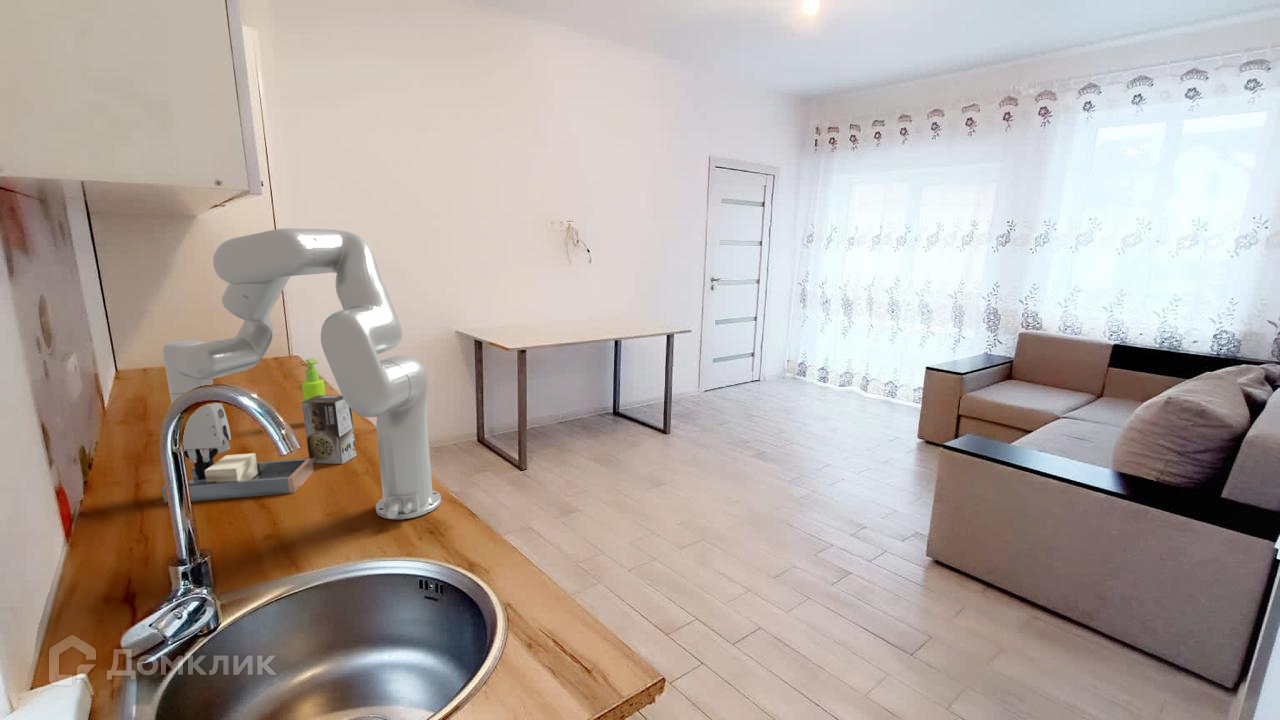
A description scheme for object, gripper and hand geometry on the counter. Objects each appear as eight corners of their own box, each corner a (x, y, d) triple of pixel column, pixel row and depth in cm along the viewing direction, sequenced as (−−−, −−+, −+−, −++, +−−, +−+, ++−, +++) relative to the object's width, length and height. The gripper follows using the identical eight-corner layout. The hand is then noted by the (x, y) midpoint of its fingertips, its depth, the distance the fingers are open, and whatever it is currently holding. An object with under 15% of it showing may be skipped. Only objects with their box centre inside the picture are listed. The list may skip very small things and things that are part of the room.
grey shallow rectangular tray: (294, 493, 124) (292, 476, 124) (164, 503, 120) (161, 486, 119) (313, 472, 136) (311, 456, 135) (196, 480, 131) (193, 464, 130)
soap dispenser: (310, 428, 168) (302, 362, 164) (304, 423, 173) (296, 359, 169) (332, 424, 172) (324, 359, 168) (325, 419, 177) (318, 356, 173)
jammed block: (239, 490, 123) (235, 468, 122) (208, 492, 122) (204, 470, 121) (258, 473, 132) (255, 453, 131) (229, 475, 131) (226, 455, 130)
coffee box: (357, 455, 147) (351, 395, 143) (342, 464, 140) (335, 402, 137) (324, 454, 148) (317, 394, 144) (308, 463, 141) (300, 401, 138)
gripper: (240, 391, 127) (251, 468, 131) (164, 395, 124) (177, 473, 128) (223, 400, 120) (235, 481, 124) (142, 404, 117) (157, 487, 121)
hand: (206, 477), depth 126 cm, fingers closed
